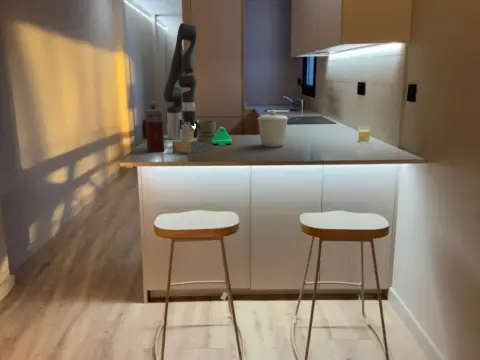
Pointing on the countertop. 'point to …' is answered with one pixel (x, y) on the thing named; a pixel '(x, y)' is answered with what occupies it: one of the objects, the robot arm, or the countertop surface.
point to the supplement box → (187, 133)
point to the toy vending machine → (153, 129)
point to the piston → (207, 130)
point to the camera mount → (221, 137)
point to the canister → (272, 129)
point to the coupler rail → (198, 147)
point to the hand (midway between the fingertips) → (190, 137)
